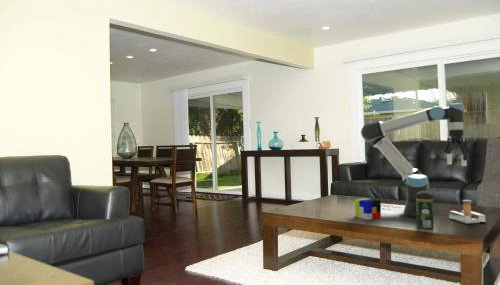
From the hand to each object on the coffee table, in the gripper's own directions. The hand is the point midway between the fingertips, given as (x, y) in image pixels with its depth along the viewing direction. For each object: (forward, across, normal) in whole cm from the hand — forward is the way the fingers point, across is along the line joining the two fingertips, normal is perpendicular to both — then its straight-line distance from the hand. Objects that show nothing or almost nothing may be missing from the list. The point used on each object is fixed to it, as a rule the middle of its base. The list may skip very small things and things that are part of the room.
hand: (456, 165), depth 233 cm
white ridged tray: (+29, -18, +7) cm, 34 cm away
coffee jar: (+29, -28, +37) cm, 55 cm away
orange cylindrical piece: (+29, -19, +7) cm, 35 cm away
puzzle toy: (+29, +1, +55) cm, 62 cm away
